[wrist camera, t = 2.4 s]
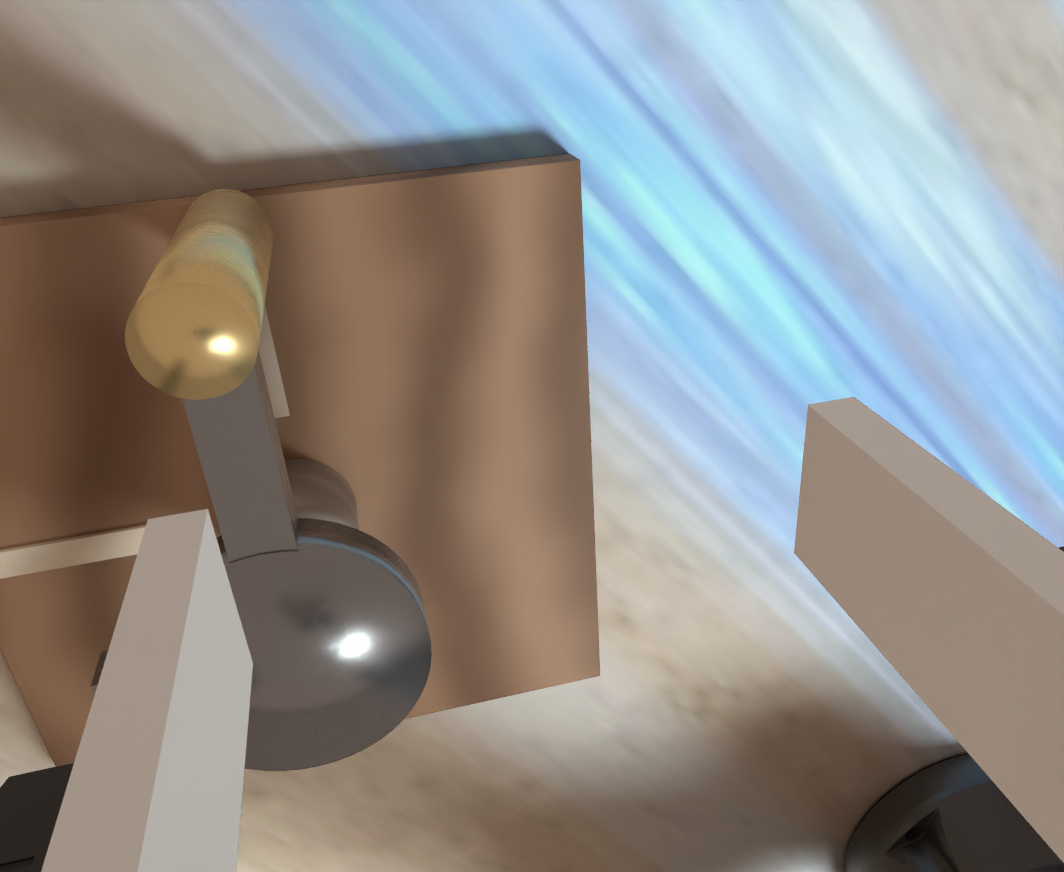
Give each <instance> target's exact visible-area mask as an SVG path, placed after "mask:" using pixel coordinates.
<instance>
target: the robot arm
mask: <svg viewBox="0 0 1064 872" xmlns="http://www.w3.org/2000/svg"><path fill="white" fill-rule="evenodd" d="M794 553H795V554H796V556H797V557H798V558H799V559H800V560H801V561H802V562H803V564H804V565H805V566H806V567H807V568H808V569H809V571H810V572H811V573H812V574H813V575H814V576H815V577H816V579H817V580H818V581H819V582H820V583H821V584H822V585H823V587H824V588H825V589H826V590H827V591H828V592H829V594H830V595H831V596H832V597H833V598H834V599H835V600H836V602H837V603H838V604H839V605H840V606H841V607H842V608H843V610H844V611H845V612H846V613H847V614H848V615H849V617H850V618H851V619H852V620H853V621H854V622H855V623H856V625H857V626H858V627H859V628H860V629H861V630H862V631H863V633H864V634H865V635H866V636H867V637H868V638H869V640H870V641H871V642H872V643H873V644H874V645H875V646H876V648H877V649H878V650H879V651H880V652H881V653H882V655H883V656H884V657H885V658H886V659H887V660H888V661H889V663H890V664H891V665H892V666H893V667H894V668H895V669H896V671H897V672H898V673H899V674H900V675H901V676H902V678H903V679H904V680H905V681H906V682H907V683H908V684H909V686H910V687H911V688H912V689H913V690H914V691H915V692H916V694H917V695H918V696H919V697H920V698H921V699H922V701H923V702H924V703H925V704H926V705H927V706H928V707H929V709H930V710H931V711H932V712H933V713H934V714H935V715H936V717H937V718H938V719H939V720H940V721H941V722H942V724H943V725H944V726H945V727H946V728H947V729H948V730H949V732H950V733H951V734H952V735H953V736H954V737H955V738H956V740H957V741H958V742H959V743H960V744H961V745H962V747H963V748H964V749H965V750H966V751H967V752H968V753H969V754H967V755H962V756H958V757H955V758H952V759H949V760H946V761H943V762H940V763H938V764H936V765H933V766H931V767H929V768H927V769H925V770H923V771H921V772H919V773H917V774H916V775H914V776H912V777H911V778H909V779H907V780H906V781H904V782H903V783H901V784H900V785H899V786H897V787H896V788H895V789H893V790H892V791H891V792H890V793H888V794H887V795H886V796H885V797H884V798H883V799H882V800H880V801H879V802H878V803H877V804H876V805H875V806H874V807H873V808H872V810H871V811H870V812H869V813H868V814H867V815H866V817H865V818H864V819H863V820H862V822H861V823H860V825H859V826H858V828H857V829H856V831H855V833H854V834H853V836H852V838H851V840H850V843H849V845H848V848H847V852H846V856H845V872H1064V547H1059V548H1058V547H1056V546H1055V545H1054V544H1052V543H1051V542H1050V541H1048V540H1047V539H1046V538H1044V537H1043V536H1041V535H1040V534H1039V533H1037V532H1036V531H1035V530H1033V529H1032V528H1031V527H1029V526H1028V525H1027V524H1025V523H1024V522H1023V521H1021V520H1020V519H1018V518H1017V517H1016V516H1014V515H1013V514H1012V513H1010V512H1009V511H1008V510H1006V509H1005V508H1004V507H1002V506H1001V505H1000V504H998V503H997V502H995V501H994V500H993V499H991V498H990V497H989V496H987V495H986V494H985V493H983V492H982V491H981V490H979V489H978V488H977V487H975V486H974V485H972V484H971V483H970V482H968V481H967V480H966V479H964V478H963V477H962V476H960V475H959V474H958V473H956V472H955V471H954V470H952V469H951V468H949V467H948V466H947V465H945V464H944V463H943V462H941V461H940V460H939V459H937V458H936V457H935V456H933V455H932V454H931V453H929V452H928V451H926V450H925V449H924V448H922V447H921V446H920V445H918V444H917V443H916V442H914V441H913V440H912V439H910V438H909V437H908V436H906V435H905V434H903V433H902V432H901V431H899V430H898V429H897V428H895V427H894V426H893V425H891V424H890V423H889V422H887V421H886V420H885V419H883V418H882V417H880V416H879V415H878V414H876V413H875V412H874V411H872V410H871V409H870V408H868V407H867V406H866V405H864V404H863V403H862V402H860V401H859V400H857V399H856V398H855V397H851V398H845V399H839V400H833V401H828V402H822V403H816V404H810V405H808V412H807V422H806V433H805V443H804V454H803V465H802V475H801V486H800V496H799V507H798V517H797V528H796V539H795V549H794ZM252 670H253V662H252V658H251V655H250V651H249V648H248V645H247V641H246V638H245V634H244V631H243V627H242V624H241V621H240V617H239V614H238V610H237V607H236V604H235V600H234V597H233V593H232V590H231V586H230V583H229V580H228V576H227V573H226V569H225V566H224V563H223V559H222V556H221V552H220V549H219V545H218V542H217V539H216V535H215V532H214V528H213V525H212V522H211V518H210V515H209V511H208V509H204V510H198V511H192V512H187V513H181V514H175V515H169V516H163V517H158V518H152V519H148V521H147V524H146V528H145V531H144V534H143V538H142V541H141V544H140V547H139V551H138V554H137V557H136V561H135V564H134V567H133V571H132V574H131V577H130V580H129V584H128V587H127V590H126V594H125V597H124V600H123V603H122V607H121V610H120V613H119V617H118V620H117V623H116V627H115V630H114V633H113V636H112V640H111V643H110V646H109V650H108V653H107V656H106V659H105V663H104V666H103V669H102V673H101V676H100V679H99V683H98V686H97V689H96V692H95V696H94V699H93V702H92V706H91V709H90V712H89V715H88V719H87V722H86V725H85V729H84V732H83V735H82V739H81V742H80V745H79V748H78V752H77V755H76V758H75V762H74V763H71V764H67V765H62V766H57V767H53V768H48V769H43V770H39V771H34V772H30V773H25V774H20V775H16V776H11V777H9V778H8V779H7V780H6V781H5V783H4V784H3V785H2V786H1V787H0V872H236V866H237V854H238V841H239V829H240V817H241V805H242V792H243V780H244V768H245V756H246V743H247V731H248V719H249V707H250V694H251V682H252Z"/></svg>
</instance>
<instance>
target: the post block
mask: <svg viewBox="0 0 1064 872" xmlns="http://www.w3.org/2000/svg"><path fill="white" fill-rule="evenodd" d="M240 192H243V193H245V194H247V195H249V196H251V197H252V198H254V199H255V200H256V201H257V202H259V203H260V204H261V206H262V207H263V208H264V209H265V210H266V212H267V214H268V215H269V217H270V220H271V222H272V226H273V231H274V240H273V247H272V254H271V261H270V268H269V276H268V283H267V290H266V297H265V304H264V311H263V319H262V326H261V333H260V340H259V347H258V349H259V353H260V357H261V362H262V366H263V370H264V375H265V379H266V383H267V387H268V392H269V396H270V400H271V404H272V409H273V413H274V417H275V421H276V426H277V430H278V434H279V439H280V443H281V447H282V451H283V456H284V460H285V464H286V468H287V473H288V477H289V481H290V485H291V490H292V494H293V498H294V503H295V507H296V511H297V515H298V518H310V519H320V520H326V521H331V522H336V523H341V524H344V525H347V526H350V527H353V528H356V529H358V530H360V531H362V532H364V533H367V534H369V535H371V536H373V537H374V538H376V539H377V540H379V541H381V542H382V543H384V544H385V545H387V546H388V547H389V548H390V549H391V550H392V551H394V552H395V553H396V554H397V555H398V556H399V557H400V558H401V559H402V560H403V562H404V563H405V564H406V565H407V566H408V568H409V569H410V571H411V572H412V574H413V576H414V577H415V579H416V581H417V584H418V586H419V588H420V591H421V595H422V599H423V603H424V608H425V613H426V618H427V623H428V629H429V634H430V639H431V650H432V657H431V668H430V672H429V676H428V680H427V683H426V685H425V687H424V690H423V692H422V694H421V696H420V698H419V699H418V701H417V703H416V704H415V706H414V707H413V709H412V710H411V711H410V712H409V714H408V715H407V716H406V717H405V719H407V718H411V717H416V716H420V715H425V714H429V713H434V712H438V711H443V710H447V709H452V708H456V707H461V706H465V705H470V704H474V703H479V702H483V701H488V700H493V699H497V698H502V697H506V696H511V695H515V694H520V693H524V692H529V691H533V690H538V689H542V688H547V687H551V686H556V685H560V684H565V683H569V682H574V681H578V680H583V679H588V678H592V677H597V676H600V659H599V633H598V608H597V582H596V557H595V531H594V506H593V480H592V455H591V429H590V403H589V378H588V352H587V327H586V301H585V276H584V250H583V225H582V199H581V174H580V160H579V159H577V158H576V157H574V156H573V155H571V154H561V155H552V156H544V157H535V158H526V159H517V160H508V161H499V162H490V163H481V164H473V165H464V166H455V167H446V168H437V169H428V170H419V171H411V172H402V173H393V174H384V175H375V176H366V177H357V178H348V179H340V180H331V181H322V182H313V183H304V184H295V185H286V186H278V187H269V188H260V189H251V190H242V191H240ZM199 196H201V195H198V196H189V197H180V198H171V199H162V200H153V201H145V202H136V203H127V204H118V205H109V206H100V207H91V208H82V209H74V210H65V211H56V212H47V213H38V214H29V215H20V216H12V217H3V218H0V649H1V651H2V653H3V656H4V658H5V660H6V662H7V664H8V666H9V668H10V670H11V672H12V675H13V677H14V679H15V681H16V683H17V685H18V687H19V689H20V692H21V694H22V696H23V698H24V700H25V702H26V704H27V706H28V709H29V711H30V713H31V715H32V717H33V719H34V721H35V723H36V726H37V728H38V730H39V732H40V734H41V736H42V738H43V740H44V742H45V745H46V747H47V749H48V751H49V753H50V755H51V757H52V759H53V762H54V764H55V766H56V767H57V766H62V765H67V764H71V763H74V762H75V758H76V755H77V752H78V748H79V745H80V742H81V739H82V735H83V732H84V729H85V725H86V722H87V719H88V715H89V712H90V709H91V706H92V702H93V699H94V694H93V691H92V689H91V683H92V679H93V676H94V673H95V670H96V667H97V664H98V660H99V657H100V654H101V652H103V651H108V650H109V646H110V643H111V640H112V636H113V633H114V630H115V627H116V623H117V620H118V617H119V613H120V610H121V607H122V603H123V600H124V597H125V594H126V590H127V587H128V584H129V580H130V577H131V574H132V571H133V567H134V564H135V561H136V557H137V554H138V551H139V547H140V544H141V541H142V538H143V534H144V531H145V528H146V524H147V521H148V519H152V518H158V517H163V516H169V515H175V514H181V513H187V512H192V511H198V510H204V509H208V511H209V515H210V518H211V522H212V525H213V528H214V532H215V535H216V537H219V536H221V532H220V528H219V525H218V521H217V518H216V514H215V511H214V507H213V504H212V500H211V497H210V493H209V490H208V486H207V483H206V480H205V476H204V473H203V469H202V466H201V462H200V459H199V455H198V452H197V448H196V445H195V441H194V438H193V434H192V431H191V427H190V424H189V421H188V417H187V414H186V410H185V407H184V403H183V400H182V398H179V397H175V396H172V395H170V394H167V393H165V392H163V391H161V390H159V389H157V388H156V387H154V386H153V385H151V384H150V383H149V382H148V381H146V380H145V379H144V378H143V377H142V376H141V375H140V374H139V372H138V371H137V370H136V368H135V367H134V365H133V363H132V362H131V360H130V357H129V355H128V352H127V348H126V344H125V328H126V324H127V320H128V318H129V315H130V313H131V311H132V309H133V307H134V306H135V304H136V302H137V300H138V298H139V297H140V295H141V293H142V291H143V289H144V288H145V286H146V284H147V282H148V280H149V279H150V277H151V275H152V273H153V271H154V270H155V268H156V266H157V264H158V262H159V261H160V259H161V257H162V255H163V253H164V252H165V250H166V248H167V246H168V244H169V243H170V241H171V239H172V237H173V235H174V234H175V232H176V230H177V228H178V226H179V225H180V223H181V221H182V219H183V217H184V216H185V214H186V212H187V210H188V209H189V207H190V205H191V204H192V203H193V202H194V201H195V200H196V199H197V198H198V197H199Z"/></svg>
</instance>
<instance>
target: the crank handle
mask: <svg viewBox="0 0 1064 872" xmlns="http://www.w3.org/2000/svg"><path fill="white" fill-rule="evenodd" d="M273 240H274V231H273V226H272V222H271V220H270V217H269V215H268V214H267V212H266V210H265V209H264V208H263V207H262V206H261V204H260V203H259V202H257V201H256V200H255V199H254V198H252V197H251V196H249V195H247V194H245V193H243V192H240V191H237V190H232V189H217V190H212V191H209V192H207V193H204V194H202V195H201V196H199V197H198V198H197V199H196V200H195V201H194V202H193V203H192V204H191V205H190V207H189V209H188V210H187V212H186V214H185V216H184V217H183V219H182V221H181V223H180V225H179V226H178V228H177V230H176V232H175V234H174V235H173V237H172V239H171V241H170V243H169V244H168V246H167V248H166V250H165V252H164V253H163V255H162V257H161V259H160V261H159V262H158V264H157V266H156V268H155V270H154V271H153V273H152V275H151V277H150V279H149V280H148V282H147V284H146V286H145V288H144V289H143V291H142V293H141V295H140V297H139V298H138V300H137V302H136V304H135V306H134V307H133V309H132V311H131V313H130V315H129V318H128V320H127V324H126V328H125V344H126V348H127V352H128V355H129V357H130V360H131V362H132V363H133V365H134V367H135V368H136V370H137V371H138V372H139V374H140V375H141V376H142V377H143V378H144V379H145V380H146V381H148V382H149V383H150V384H151V385H153V386H154V387H156V388H157V389H159V390H161V391H163V392H165V393H167V394H170V395H172V396H175V397H179V398H182V400H183V403H184V407H185V410H186V414H187V417H188V421H189V424H190V427H191V431H192V434H193V438H194V441H195V445H196V448H197V452H198V455H199V459H200V462H201V466H202V469H203V473H204V476H205V480H206V483H207V486H208V490H209V493H210V497H211V500H212V504H213V507H214V511H215V514H216V518H217V521H218V525H219V528H220V532H221V536H219V537H216V539H217V542H218V545H219V549H220V552H221V556H222V559H223V563H224V566H225V569H226V573H227V576H228V580H229V583H230V586H231V590H232V593H233V597H234V600H235V604H236V607H237V610H238V614H239V617H240V621H241V624H242V627H243V631H244V634H245V638H246V641H247V645H248V648H249V651H250V655H251V658H252V662H253V670H252V682H251V694H250V707H249V719H248V731H247V743H246V756H245V768H246V769H253V770H264V771H287V770H299V769H306V768H311V767H317V766H321V765H325V764H328V763H332V762H335V761H338V760H341V759H343V758H346V757H349V756H351V755H353V754H355V753H358V752H360V751H362V750H364V749H366V748H367V747H369V746H371V745H372V744H374V743H376V742H377V741H379V740H380V739H382V738H383V737H384V736H386V735H387V734H388V733H389V732H391V731H392V730H393V729H394V728H395V727H396V726H397V725H398V724H399V723H400V722H401V721H403V720H404V719H405V717H406V716H407V715H408V714H409V712H410V711H411V710H412V709H413V707H414V706H415V704H416V703H417V701H418V699H419V698H420V696H421V694H422V692H423V690H424V687H425V685H426V683H427V680H428V676H429V672H430V668H431V657H432V650H431V639H430V634H429V629H428V623H427V618H426V613H425V608H424V603H423V599H422V595H421V591H420V588H419V586H418V584H417V581H416V579H415V577H414V576H413V574H412V572H411V571H410V569H409V568H408V566H407V565H406V564H405V563H404V562H403V560H402V559H401V558H400V557H399V556H398V555H397V554H396V553H395V552H394V551H392V550H391V549H390V548H389V547H388V546H387V545H385V544H384V543H382V542H381V541H379V540H377V539H376V538H374V537H373V536H371V535H369V534H367V533H364V532H362V531H360V530H358V529H356V528H353V527H350V526H347V525H344V524H341V523H336V522H331V521H326V520H320V519H310V518H298V515H297V511H296V507H295V503H294V498H293V494H292V490H291V485H290V481H289V477H288V473H287V468H286V464H285V460H284V456H283V451H282V447H281V443H280V439H279V434H278V430H277V426H276V421H275V417H274V413H273V409H272V404H271V400H270V396H269V392H268V387H267V383H266V379H265V375H264V370H263V366H262V362H261V357H260V353H259V349H258V347H259V340H260V333H261V326H262V319H263V311H264V304H265V297H266V290H267V283H268V276H269V268H270V261H271V254H272V247H273ZM107 653H108V651H103V652H101V654H100V657H99V660H98V664H97V667H96V670H95V673H94V676H93V679H92V683H91V689H92V691H93V694H94V696H95V692H96V689H97V686H98V683H99V679H100V676H101V673H102V669H103V666H104V663H105V659H106V656H107Z"/></svg>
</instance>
